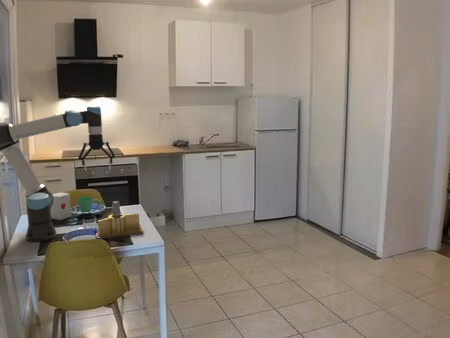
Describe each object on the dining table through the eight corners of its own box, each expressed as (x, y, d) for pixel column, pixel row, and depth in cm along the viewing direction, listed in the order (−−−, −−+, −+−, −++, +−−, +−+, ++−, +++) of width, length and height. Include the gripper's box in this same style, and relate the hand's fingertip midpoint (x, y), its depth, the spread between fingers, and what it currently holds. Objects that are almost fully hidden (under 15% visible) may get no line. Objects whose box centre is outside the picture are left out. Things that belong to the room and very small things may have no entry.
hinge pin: (114, 231, 233) (112, 203, 229) (113, 228, 237) (111, 201, 232) (121, 230, 235) (120, 203, 230) (120, 227, 238) (118, 200, 234)
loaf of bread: (96, 239, 225) (95, 222, 223) (95, 230, 239) (93, 214, 237) (143, 233, 233) (142, 217, 231) (139, 225, 247) (138, 209, 245)
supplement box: (60, 220, 258) (58, 196, 255) (50, 218, 262) (48, 195, 259) (72, 216, 266) (70, 193, 263) (61, 214, 270) (59, 192, 267)
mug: (75, 215, 268) (74, 200, 266) (81, 211, 277) (80, 196, 276) (97, 215, 267) (96, 200, 265) (103, 211, 276) (102, 196, 275)
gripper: (117, 132, 247) (119, 167, 251) (72, 134, 239) (75, 170, 243) (118, 133, 240) (120, 169, 244) (72, 135, 232) (75, 172, 236)
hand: (97, 170), depth 244 cm, fingers open, 13 cm apart
